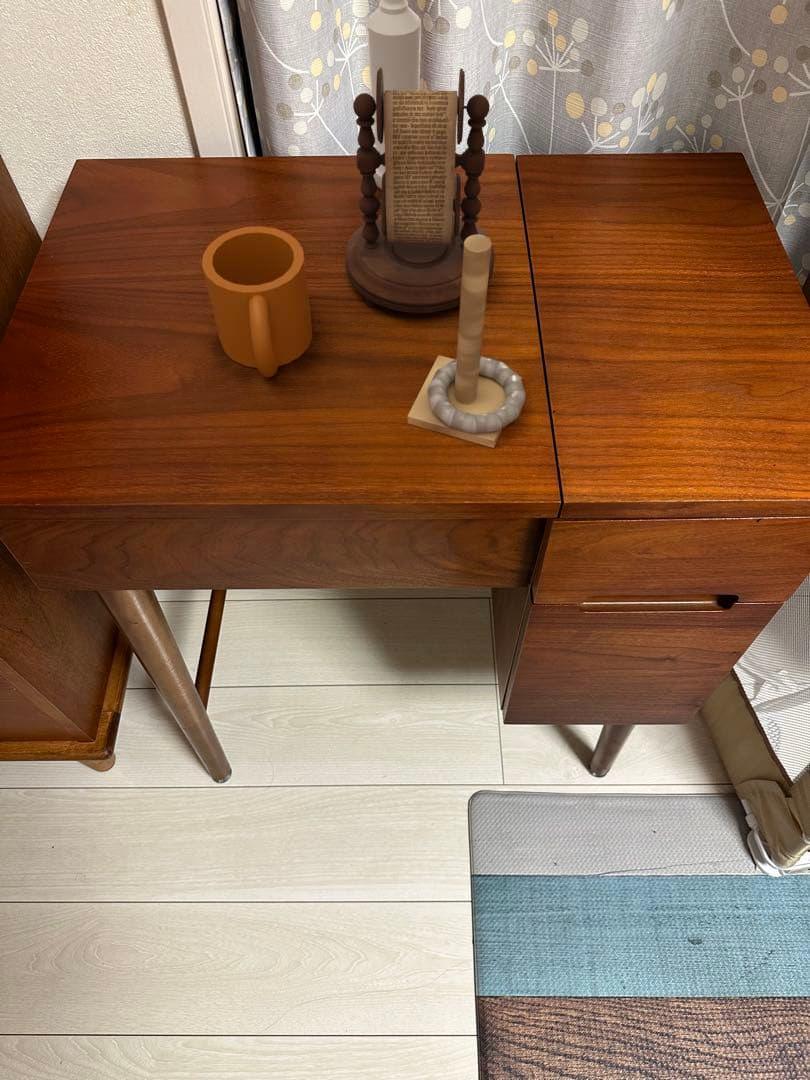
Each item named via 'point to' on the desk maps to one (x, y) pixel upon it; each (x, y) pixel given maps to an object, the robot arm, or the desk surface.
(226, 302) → the mug
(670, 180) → the desk surface
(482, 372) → the ring
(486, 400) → the wooden peg stand
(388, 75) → the bottle
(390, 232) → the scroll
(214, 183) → the desk surface
